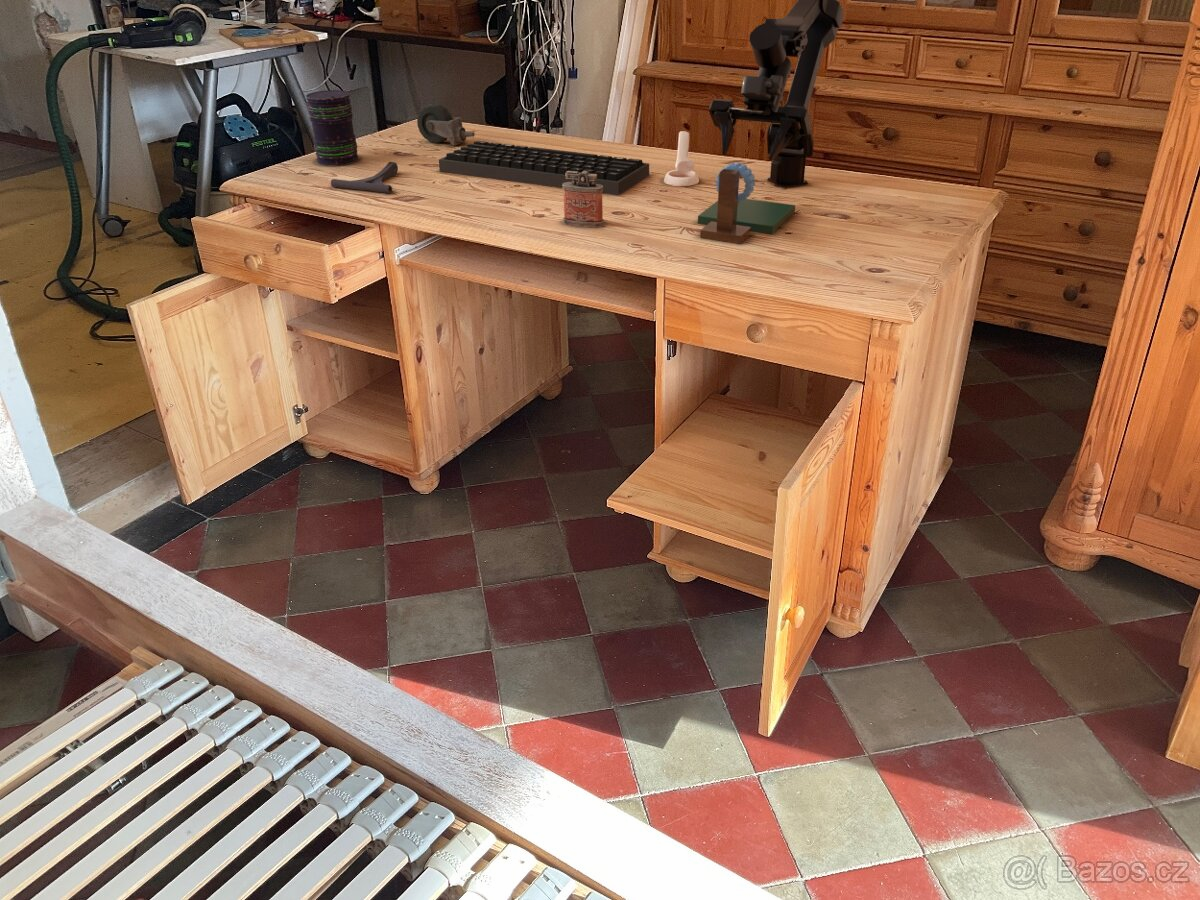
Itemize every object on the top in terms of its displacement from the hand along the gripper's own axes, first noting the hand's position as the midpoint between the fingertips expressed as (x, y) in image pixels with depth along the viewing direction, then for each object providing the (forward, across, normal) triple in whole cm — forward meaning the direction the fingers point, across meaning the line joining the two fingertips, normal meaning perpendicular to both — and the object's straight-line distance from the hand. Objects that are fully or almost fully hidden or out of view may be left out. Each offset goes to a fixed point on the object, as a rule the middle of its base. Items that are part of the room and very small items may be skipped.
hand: (746, 156), depth 182 cm
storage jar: (+7, -102, +11) cm, 103 cm away
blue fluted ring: (+9, 0, +1) cm, 9 cm away
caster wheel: (-10, -87, +28) cm, 92 cm away
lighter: (+19, -28, -1) cm, 33 cm away
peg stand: (+14, 0, +4) cm, 14 cm away
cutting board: (+7, 0, +10) cm, 13 cm away
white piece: (-6, -21, +23) cm, 32 cm away
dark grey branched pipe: (+14, -82, +4) cm, 83 cm away
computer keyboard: (0, -52, +18) cm, 55 cm away
